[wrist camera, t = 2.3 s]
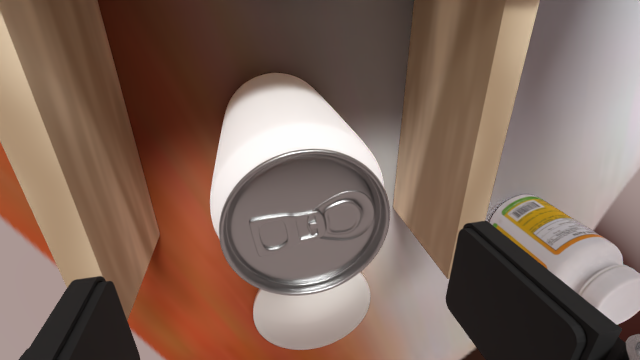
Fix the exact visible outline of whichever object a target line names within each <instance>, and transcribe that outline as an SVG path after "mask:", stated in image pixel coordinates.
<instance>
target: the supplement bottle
mask: <svg viewBox="0 0 640 360" xmlns="http://www.w3.org/2000/svg"><path fill="white" fill-rule="evenodd" d="M490 224H492V225H493V226H494V227H495V228H497V229H498V230H499V231H500V232H502V233H503V234H504V235H505V236H507V237H508V238H509V239H510V240H512V241H513V242H514V243H515V244H517V245H518V246H519V247H520V248H522V249H523V250H524V251H525V252H527V253H528V254H529V255H530V256H532V257H533V258H534V259H535V260H537V261H538V262H539V263H540V264H542V265H543V266H544V267H545V268H547V269H548V270H549V271H550V272H552V273H553V274H554V275H555V276H556V277H558V278H559V279H560V280H561V281H563V282H564V283H565V284H566V285H568V286H569V287H570V288H571V289H573V290H574V291H575V292H576V293H578V294H579V295H580V296H581V297H583V298H584V299H585V300H586V301H588V302H589V303H590V304H591V305H593V306H594V307H595V308H596V309H598V310H599V311H600V312H601V313H603V314H604V315H605V316H606V317H608V318H609V319H610V320H611V321H613V322H614V323H615V324H616V325H617V324H619V323H622V322H624V321H626V320H628V319H629V318H631V317H632V316H633V315H635V314H636V313H637V312H638V311H640V274H639V273H638V272H636V271H635V270H634V269H632V268H630V267H628V266H626V265H623V258H622V254H621V252H620V250H619V249H618V248H617V247H616V246H615V245H614V244H613V243H611V242H610V241H608V240H607V239H605V238H604V237H602V236H600V235H599V234H597V233H595V232H594V231H592V230H590V229H589V228H587V227H586V226H584V225H582V224H581V223H579V222H578V221H576V220H574V219H573V218H571V217H569V216H568V215H566V214H565V213H563V212H561V211H560V210H558V209H557V208H555V207H553V206H552V205H550V204H549V203H547V202H545V201H544V200H542V199H540V198H539V197H537V196H534V195H529V194H525V195H519V196H516V197H513V198H511V199H509V200H507V201H506V202H504V203H503V204H502V205H501V206H500V207H499V208H498V209H497V210H496V211H495V213H494V214H493V216H492V218H491V220H490Z"/></svg>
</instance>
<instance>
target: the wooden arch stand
mask: <svg viewBox="0 0 640 360" xmlns="http://www.w3.org/2000/svg"><path fill="white" fill-rule="evenodd" d="M539 2H540V0H414V6H413V16H412V25H411V35H410V45H409V55H408V64H407V74H406V84H405V94H404V103H403V113H402V123H401V133H400V143H399V152H398V162H397V172H396V182H395V191H394V201H393V208H394V209H395V211H396V212H397V213H398V215H399V216H400V217H401V219H402V220H403V221H404V223H405V224H406V225H407V226H408V228H409V229H410V230H411V232H412V233H413V234H414V236H415V237H416V238H417V240H418V241H419V242H420V243H421V245H422V246H423V247H424V249H425V250H426V251H427V253H428V254H429V255H430V257H431V258H432V259H433V260H434V262H435V263H436V264H437V266H438V267H439V268H440V270H441V271H442V272H443V274H444V275H445V276H446V277H447V279H449V278H450V274H451V269H452V264H453V259H454V254H455V249H456V243H457V238H458V234H459V231H460V230H461V229H463V226H464V225H465V224H467V223H472V222H479V221H485V218H486V214H487V210H488V206H489V202H490V198H491V194H492V190H493V186H494V182H495V178H496V174H497V170H498V166H499V162H500V158H501V154H502V150H503V146H504V142H505V138H506V134H507V130H508V126H509V122H510V118H511V114H512V110H513V106H514V102H515V98H516V94H517V90H518V86H519V82H520V78H521V74H522V70H523V66H524V62H525V58H526V54H527V50H528V46H529V42H530V38H531V34H532V30H533V26H534V22H535V18H536V14H537V10H538V6H539ZM0 141H1V144H2V146H3V148H4V150H5V152H6V155H7V157H8V159H9V161H10V163H11V166H12V168H13V170H14V172H15V174H16V177H17V179H18V181H19V183H20V185H21V188H22V190H23V192H24V194H25V196H26V198H27V201H28V203H29V205H30V207H31V209H32V212H33V214H34V216H35V218H36V220H37V223H38V225H39V227H40V229H41V231H42V234H43V236H44V238H45V240H46V242H47V245H48V247H49V249H50V251H51V253H52V256H53V258H54V260H55V262H56V264H57V267H58V269H59V271H60V273H61V275H62V277H63V280H64V282H65V284H66V286H67V288H68V286H69V284H70V283H71V282H72V281H74V280H76V279H83V278H90V277H97V276H102V277H104V278H105V280H106V281H112V282H113V283H114V285H115V288H116V291H117V294H118V296H119V299H120V302H121V305H122V308H123V310H124V313H125V316H126V319H127V320H128V318H129V315H130V312H131V310H132V307H133V304H134V302H135V299H136V296H137V294H138V291H139V289H140V286H141V283H142V281H143V278H144V275H145V273H146V270H147V267H148V265H149V262H150V259H151V257H152V254H153V252H154V249H155V246H156V244H157V241H158V238H159V236H160V233H159V229H158V225H157V221H156V218H155V214H154V210H153V206H152V203H151V199H150V195H149V191H148V188H147V184H146V180H145V177H144V173H143V169H142V165H141V162H140V158H139V154H138V150H137V147H136V143H135V139H134V135H133V132H132V128H131V124H130V120H129V117H128V113H127V109H126V105H125V102H124V98H123V94H122V90H121V87H120V83H119V79H118V76H117V72H116V68H115V64H114V61H113V57H112V53H111V49H110V46H109V42H108V38H107V34H106V31H105V27H104V23H103V19H102V16H101V12H100V8H99V4H98V1H97V0H0Z"/></svg>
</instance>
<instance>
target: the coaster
mask: <svg viewBox="0 0 640 360" xmlns="http://www.w3.org/2000/svg"><path fill="white" fill-rule="evenodd" d="M369 305H370V289H369V286H368V284H367V281H366V279H365V277H364V276H363V274H362V273H361V272H360V273H359V274H357V275H356V276H355V277H353V278H352V279H350V280H349V281H347V282H345V283H343V284H341V285H339V286H337V287H335V288H332V289H330V290H327V291H324V292H320V293H316V294H310V295H301V296H289V295H280V294H275V293H270V292H267V291H264V290H261V289H259V290H258V292H257V294H256V296H255V299H254V304H253V318H254V323H255V326H256V328H257V330H258V331H259V333H260V334H261V335H262V336H263V337H264V338H265V339H266V340H268V341H269V342H271V343H272V344H274V345H277V346H279V347H283V348H286V349H293V350H308V349H315V348H319V347H323V346H326V345H329V344H331V343H334V342H336V341H338V340H340V339H342V338H343V337H345V336H346V335H348V334H349V333H350V332H352V331H353V330H354V329H355V328H356V327H357V326H358V325H359V324H360V322H361V321H362V320H363V318H364V317H365V315H366V313H367V311H368V308H369Z"/></svg>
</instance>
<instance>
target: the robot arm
mask: <svg viewBox="0 0 640 360" xmlns="http://www.w3.org/2000/svg"><path fill="white" fill-rule="evenodd" d="M446 303H447V306H448V309H449V310H450V312H451V313H452V314H453V316H454V317H455V318H456V320H457V321H458V323H459V324H460V325H461V327H462V328H463V329H464V331H465V332H466V333H467V335H468V336H469V338H470V339H471V340H472V342H473V343H474V344H475V346H476V347H477V348H478V350H479V351H480V353H481V354H482V355H483V357H484V358H485V359H486V360H640V334H636V335H633V336H631V337H629V338H628V340H627V341H626V343H625V342H624V341H622V340H621V339H620V338H619V337H618V336H619V334H620V332H621V330H622V329H621V328H620V327H619V326H618V325H616V324H615V323H614V322H613V321H611V320H610V319H609V318H608V317H606V316H605V315H604V314H603V313H601V312H600V311H599V310H598V309H596V308H595V307H594V306H593V305H591V304H590V303H589V302H588V301H586V300H585V299H584V298H583V297H581V296H580V295H579V294H578V293H576V292H575V291H574V290H573V289H571V288H570V287H569V286H568V285H566V284H565V283H564V282H563V281H561V280H560V279H559V278H558V277H556V276H555V275H554V274H553V273H552V272H550V271H549V270H548V269H547V268H545V267H544V266H543V265H542V264H540V263H539V262H538V261H537V260H535V259H534V258H533V257H532V256H530V255H529V254H528V253H527V252H525V251H524V250H523V249H522V248H520V247H519V246H518V245H517V244H515V243H514V242H513V241H512V240H510V239H509V238H508V237H507V236H505V235H504V234H503V233H502V232H500V231H499V230H498V229H497V228H495V227H494V226H493V225H492V224H490V223H489V222H487V221H479V222H472V223H467V224H465V225H464V226H463V229H461V230H460V231H459V234H458V238H457V243H456V249H455V254H454V259H453V264H452V269H451V274H450V279H449V284H448V289H447V294H446ZM19 360H140V356H139V352H138V350H137V347H136V344H135V341H134V338H133V336H132V333H131V330H130V327H129V324H128V322H127V319H126V316H125V313H124V310H123V308H122V305H121V302H120V299H119V296H118V294H117V291H116V288H115V285H114V283H113V282H112V281H106V280H105V278H104V277H102V276H97V277H90V278H83V279H76V280H74V281H72V282H71V283H70V284H69V286H68V288H67V289H66V291H65V292H64V294H63V296H62V297H61V299H60V301H59V302H58V303H57V305H56V307H55V308H54V310H53V311H52V313H51V314H50V316H49V318H48V319H47V321H46V322H45V324H44V326H43V327H42V329H41V330H40V332H39V333H38V335H37V337H36V338H35V340H34V341H33V343H32V344H31V346H30V348H29V349H27V350H26V351H25V352H24V354H23V355H22V356H21V357H20V359H19Z"/></svg>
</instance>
